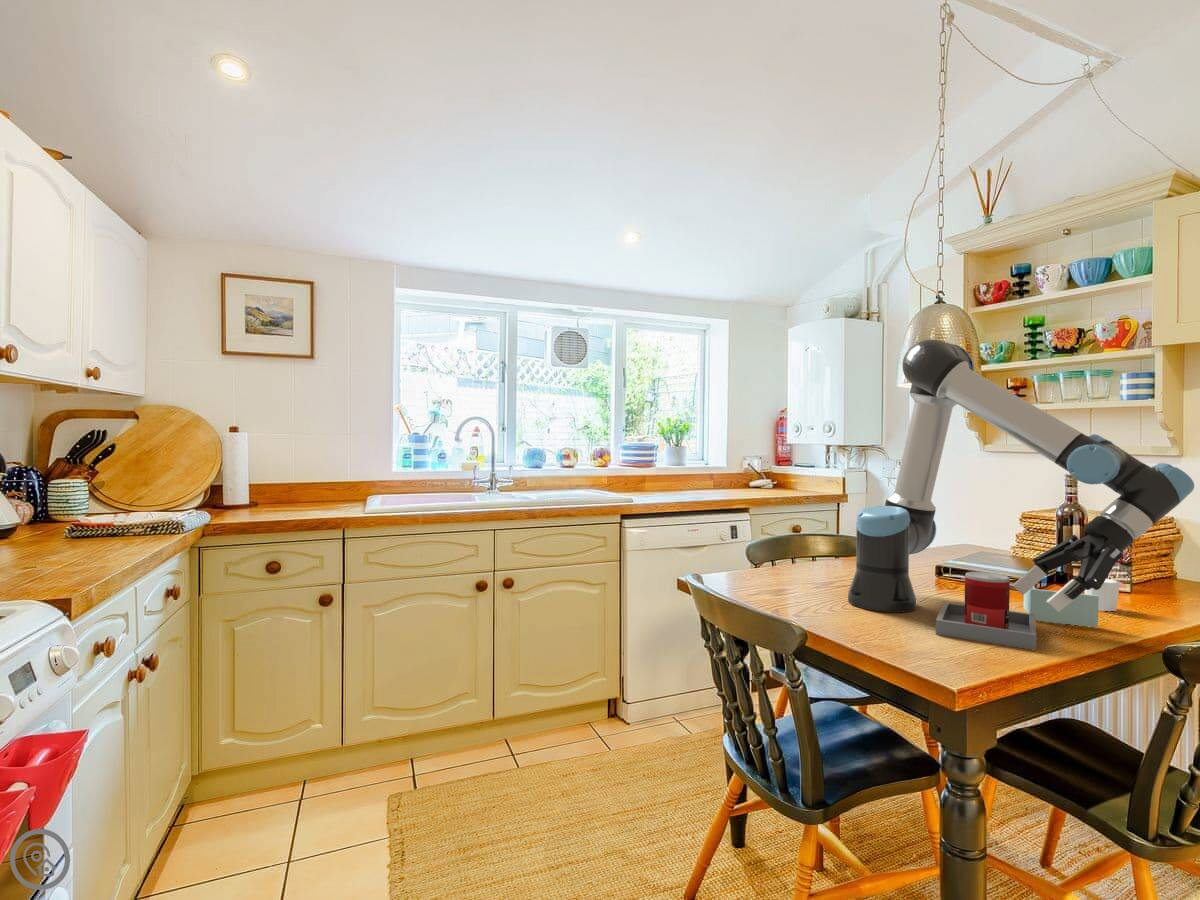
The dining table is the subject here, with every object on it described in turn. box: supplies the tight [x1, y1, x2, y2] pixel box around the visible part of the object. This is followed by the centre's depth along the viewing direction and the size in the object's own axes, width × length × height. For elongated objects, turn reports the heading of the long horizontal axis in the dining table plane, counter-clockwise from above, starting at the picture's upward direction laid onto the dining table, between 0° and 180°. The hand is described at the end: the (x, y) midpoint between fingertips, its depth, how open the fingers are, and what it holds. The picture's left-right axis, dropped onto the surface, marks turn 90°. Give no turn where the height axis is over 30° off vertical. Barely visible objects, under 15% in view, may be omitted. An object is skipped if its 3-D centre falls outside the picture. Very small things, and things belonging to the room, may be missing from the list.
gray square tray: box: [935, 601, 1037, 651], centre depth 131 cm, size 17×17×3 cm
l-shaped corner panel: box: [1023, 585, 1099, 628], centre depth 141 cm, size 12×12×8 cm
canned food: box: [964, 571, 1011, 629], centre depth 131 cm, size 8×8×11 cm
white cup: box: [1084, 578, 1121, 612], centre depth 148 cm, size 7×7×7 cm
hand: (1033, 598), depth 129 cm, fingers open, 13 cm apart
